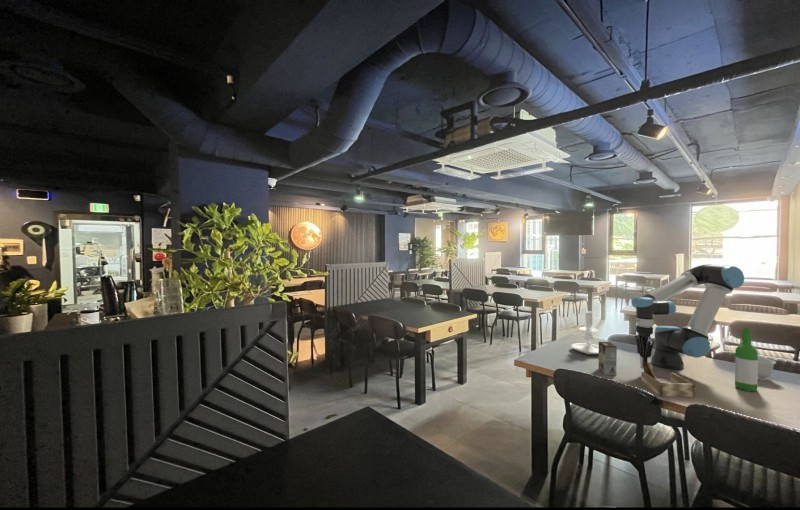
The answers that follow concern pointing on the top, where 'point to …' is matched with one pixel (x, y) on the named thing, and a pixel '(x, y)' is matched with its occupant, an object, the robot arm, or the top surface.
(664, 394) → the box
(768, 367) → the teacup
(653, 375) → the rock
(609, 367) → the coffee box
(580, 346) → the candlestick
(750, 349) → the wine bottle
